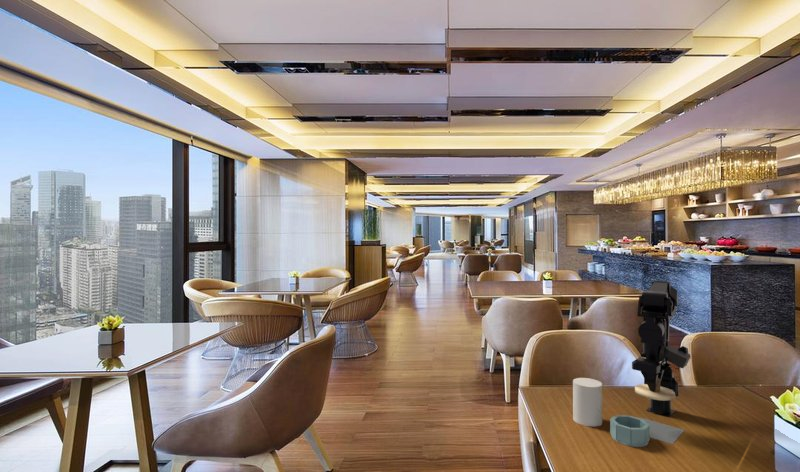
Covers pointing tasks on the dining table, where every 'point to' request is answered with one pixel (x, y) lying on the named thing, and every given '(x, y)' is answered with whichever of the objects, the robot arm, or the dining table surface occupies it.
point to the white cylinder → (587, 402)
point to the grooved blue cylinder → (630, 430)
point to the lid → (659, 393)
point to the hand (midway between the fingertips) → (654, 389)
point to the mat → (663, 431)
